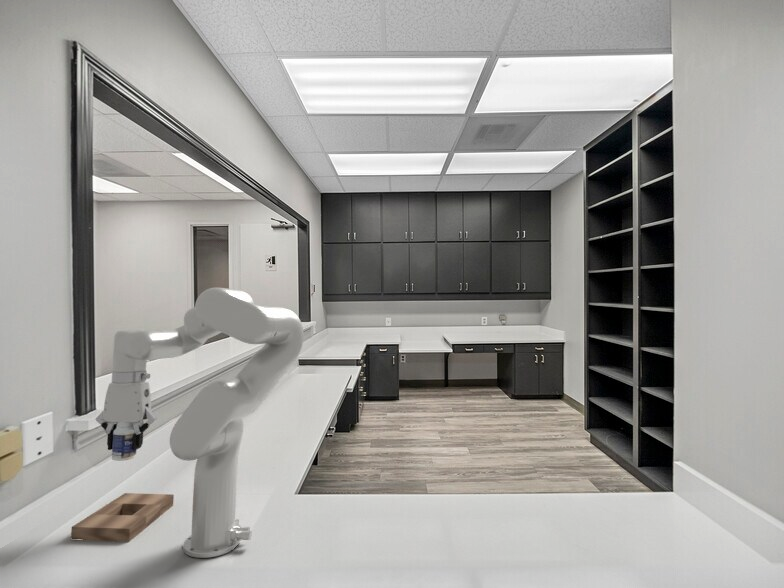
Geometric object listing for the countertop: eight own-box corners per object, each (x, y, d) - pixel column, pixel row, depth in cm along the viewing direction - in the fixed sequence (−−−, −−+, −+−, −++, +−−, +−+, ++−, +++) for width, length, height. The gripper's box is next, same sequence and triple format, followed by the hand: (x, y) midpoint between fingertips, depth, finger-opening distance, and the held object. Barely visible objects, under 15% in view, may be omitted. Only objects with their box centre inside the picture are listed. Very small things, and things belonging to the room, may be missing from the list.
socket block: (173, 505, 122) (173, 494, 122) (129, 541, 102) (129, 528, 102) (124, 503, 122) (124, 493, 122) (70, 539, 102) (71, 526, 102)
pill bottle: (125, 462, 107) (127, 422, 108) (106, 460, 108) (108, 421, 109) (141, 455, 113) (143, 417, 113) (123, 454, 114) (125, 416, 114)
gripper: (169, 376, 116) (165, 445, 115) (104, 375, 115) (100, 443, 114) (154, 380, 108) (150, 453, 107) (85, 379, 108) (80, 452, 107)
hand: (124, 447), depth 111 cm, fingers closed on pill bottle, 5 cm apart
